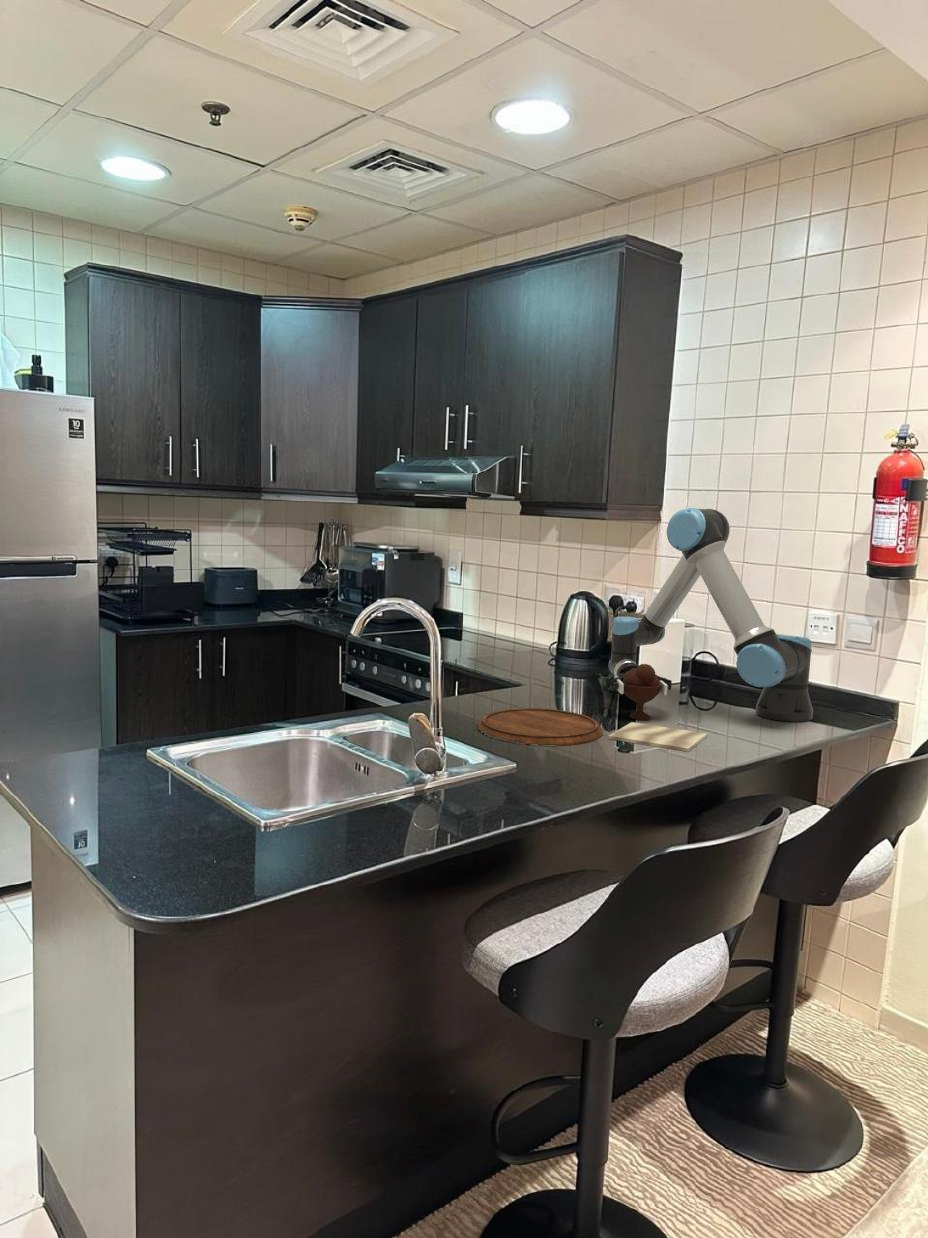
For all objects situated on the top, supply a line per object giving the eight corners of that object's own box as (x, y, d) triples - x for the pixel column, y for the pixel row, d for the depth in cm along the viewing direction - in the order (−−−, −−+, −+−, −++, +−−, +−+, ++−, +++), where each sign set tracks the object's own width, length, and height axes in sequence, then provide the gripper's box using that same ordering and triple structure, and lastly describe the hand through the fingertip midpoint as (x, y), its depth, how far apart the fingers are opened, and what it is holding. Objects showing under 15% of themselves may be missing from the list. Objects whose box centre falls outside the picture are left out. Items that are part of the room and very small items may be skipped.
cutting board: (552, 755, 200) (552, 745, 200) (451, 729, 222) (451, 720, 221) (627, 732, 224) (627, 722, 224) (529, 710, 245) (529, 701, 245)
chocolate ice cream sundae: (663, 715, 241) (666, 662, 239) (654, 724, 231) (657, 668, 229) (625, 710, 246) (628, 658, 244) (615, 719, 236) (617, 664, 234)
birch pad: (707, 736, 220) (707, 733, 220) (688, 751, 205) (688, 748, 205) (631, 725, 230) (631, 722, 230) (608, 738, 215) (608, 735, 215)
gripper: (668, 688, 256) (686, 704, 234) (588, 686, 256) (599, 702, 234) (669, 662, 255) (688, 677, 233) (589, 660, 255) (601, 674, 233)
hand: (644, 689), depth 233 cm, fingers closed on chocolate ice cream sundae, 11 cm apart
